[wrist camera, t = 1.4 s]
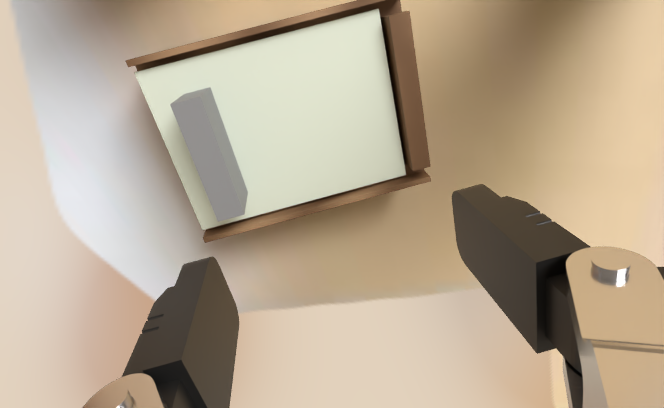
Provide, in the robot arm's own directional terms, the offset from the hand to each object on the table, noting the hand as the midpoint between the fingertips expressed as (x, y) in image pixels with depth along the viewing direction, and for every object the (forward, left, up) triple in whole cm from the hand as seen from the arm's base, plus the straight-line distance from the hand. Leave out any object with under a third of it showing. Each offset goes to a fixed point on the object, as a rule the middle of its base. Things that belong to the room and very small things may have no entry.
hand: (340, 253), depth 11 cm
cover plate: (+1, 0, -17) cm, 17 cm away
